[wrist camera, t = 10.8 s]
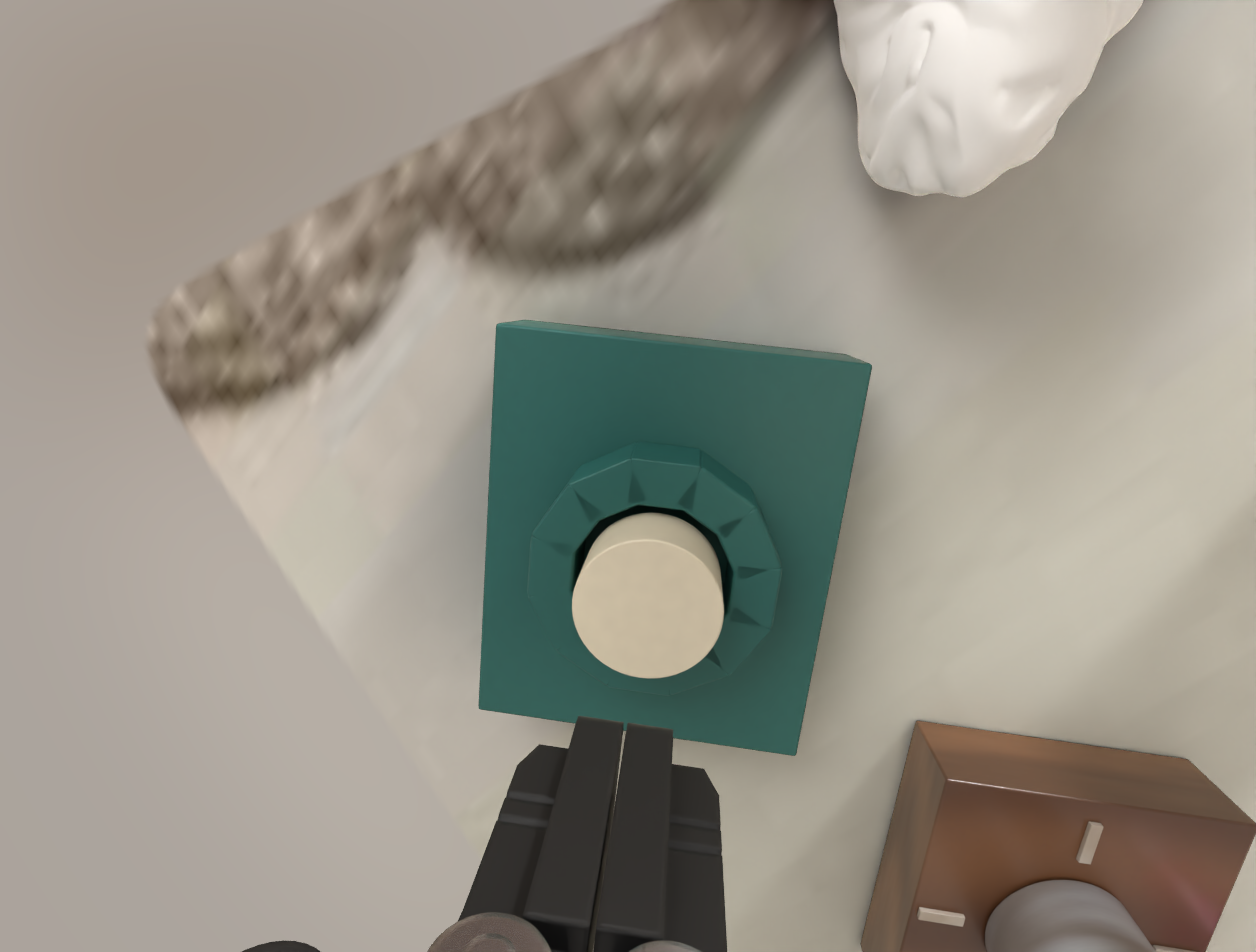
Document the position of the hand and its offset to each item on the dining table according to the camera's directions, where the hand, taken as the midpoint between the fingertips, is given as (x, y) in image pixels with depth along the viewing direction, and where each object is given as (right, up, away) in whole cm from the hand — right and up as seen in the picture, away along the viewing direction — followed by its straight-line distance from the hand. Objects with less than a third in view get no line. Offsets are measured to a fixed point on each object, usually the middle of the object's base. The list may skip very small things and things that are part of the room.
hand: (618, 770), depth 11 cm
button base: (+1, +3, +12) cm, 12 cm away
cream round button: (+1, +2, +7) cm, 8 cm away
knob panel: (+14, -9, +14) cm, 22 cm away
